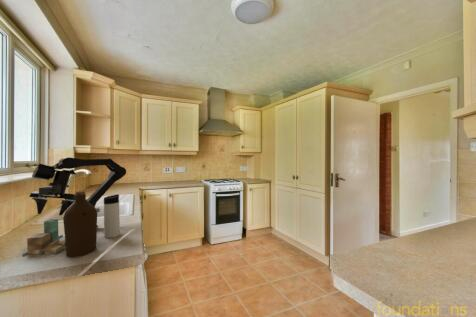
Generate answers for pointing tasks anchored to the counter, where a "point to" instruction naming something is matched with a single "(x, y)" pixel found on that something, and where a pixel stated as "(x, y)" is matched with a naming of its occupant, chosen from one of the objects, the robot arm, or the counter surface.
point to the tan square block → (61, 243)
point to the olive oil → (80, 227)
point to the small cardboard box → (53, 249)
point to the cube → (38, 241)
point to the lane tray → (44, 250)
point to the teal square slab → (51, 228)
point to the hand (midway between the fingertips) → (49, 214)
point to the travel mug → (111, 216)
